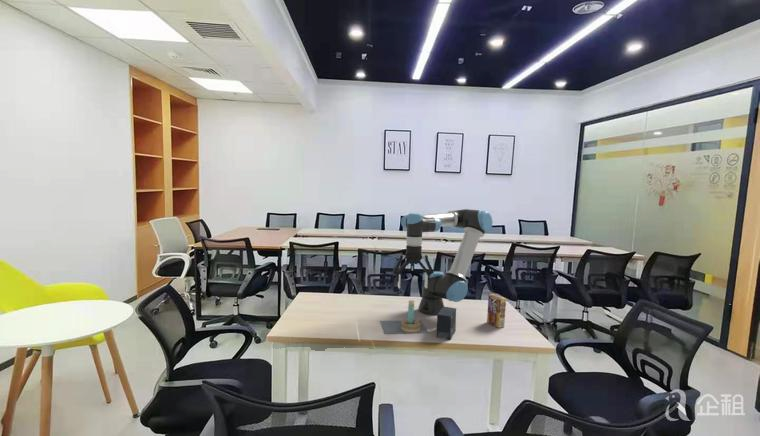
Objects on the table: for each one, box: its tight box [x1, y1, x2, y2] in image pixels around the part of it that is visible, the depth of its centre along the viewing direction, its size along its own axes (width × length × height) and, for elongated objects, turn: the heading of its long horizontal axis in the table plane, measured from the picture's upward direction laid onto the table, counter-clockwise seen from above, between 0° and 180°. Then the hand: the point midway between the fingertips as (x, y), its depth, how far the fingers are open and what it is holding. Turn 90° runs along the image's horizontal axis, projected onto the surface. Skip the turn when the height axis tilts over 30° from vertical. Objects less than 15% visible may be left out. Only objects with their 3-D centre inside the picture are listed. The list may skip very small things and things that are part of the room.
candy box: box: [486, 293, 507, 329], centre depth 185 cm, size 9×4×15 cm, turn 26°
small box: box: [436, 306, 457, 341], centre depth 169 cm, size 13×7×12 cm, turn 157°
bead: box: [401, 318, 420, 332], centre depth 174 cm, size 9×9×3 cm
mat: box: [379, 320, 430, 335], centre depth 176 cm, size 22×17×1 cm
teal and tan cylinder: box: [407, 299, 415, 324], centre depth 174 cm, size 3×3×14 cm
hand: (412, 287), depth 173 cm, fingers open, 13 cm apart
